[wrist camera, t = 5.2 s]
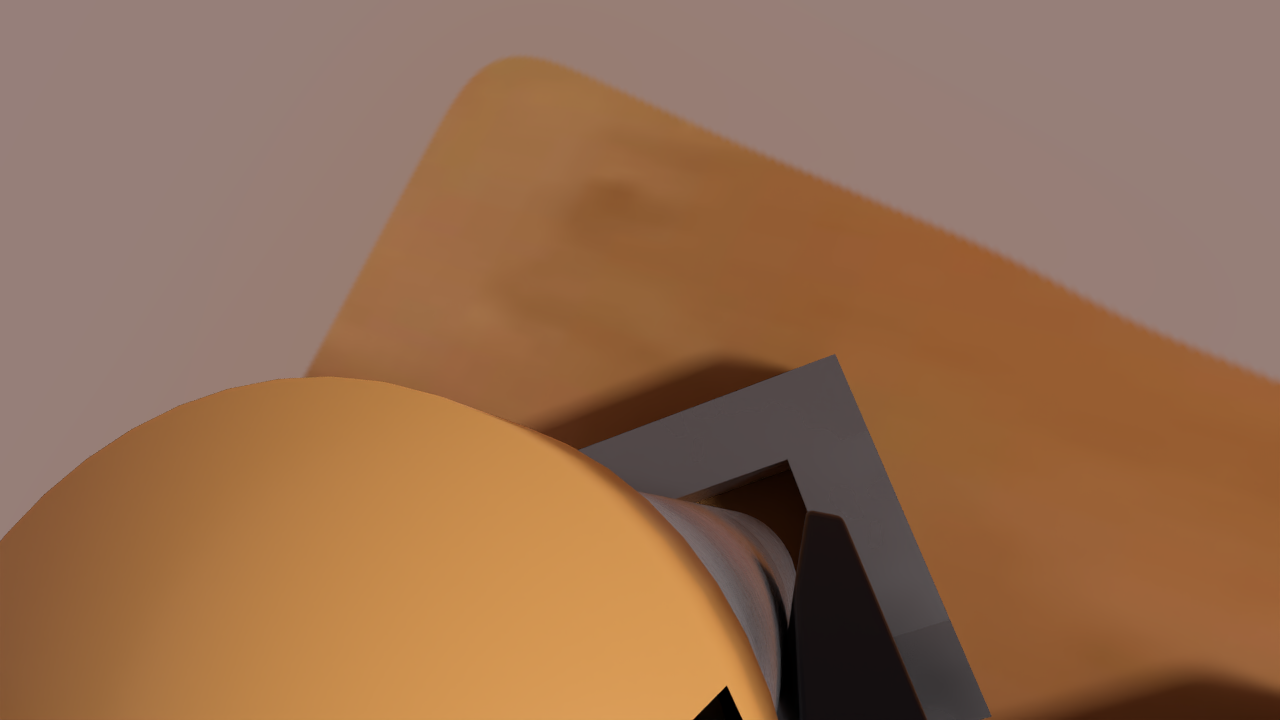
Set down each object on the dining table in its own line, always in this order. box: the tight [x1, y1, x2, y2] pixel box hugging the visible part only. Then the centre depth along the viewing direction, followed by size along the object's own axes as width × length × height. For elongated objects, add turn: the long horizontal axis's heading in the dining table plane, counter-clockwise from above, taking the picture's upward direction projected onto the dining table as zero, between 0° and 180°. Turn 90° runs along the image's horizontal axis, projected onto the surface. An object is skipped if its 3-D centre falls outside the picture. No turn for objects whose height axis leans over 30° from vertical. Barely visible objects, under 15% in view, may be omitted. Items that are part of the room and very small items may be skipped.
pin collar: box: [578, 354, 991, 720], centre depth 18 cm, size 8×8×3 cm
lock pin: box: [0, 376, 796, 720], centre depth 8 cm, size 3×3×13 cm
